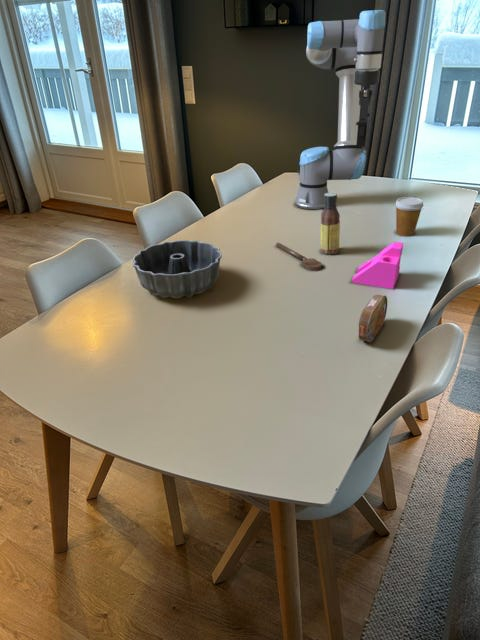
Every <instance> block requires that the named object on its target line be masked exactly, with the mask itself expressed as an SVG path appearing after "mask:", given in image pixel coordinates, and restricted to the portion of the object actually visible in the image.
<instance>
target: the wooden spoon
mask: <svg viewBox="0 0 480 640" xmlns="http://www.w3.org/2000/svg"><path fill="white" fill-rule="evenodd" d="M275 247H276V248H278V249H280V250H282V251H283V252H285V253H286V254H289V255H290V256H292V257H294V258H296V259H298V260H299V261H300V262H301V267H302V268H305V269H306V270H308V271H319V270H321V269H322V266H323V265H322V262H321V261H319V260H318V259H315V258H307V257H306V256H304V255H302V254H301V253H299V252H296V251H295V250H293V249H291V248H289V247H288V246H286V245H285V244H282V243H280V242H276V243H275Z"/></svg>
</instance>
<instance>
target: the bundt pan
mask: <svg viewBox="0 0 480 640" xmlns="http://www.w3.org/2000/svg"><path fill="white" fill-rule="evenodd" d="M220 249H221V248H220V247H217V246H215V245H214V244H213V243H210V242H204V241H200V240H187V239H179V240H174V241H164V242H162V243H155V244H152V245H150V246H149V245H148V246H147V247H146V248H145V249H140V250H139V251H138V253H137V254H135V255H134V256H133V257H132V267H133V268H134V269H135V270H134V271H135V273H136V275H137V278H138V281H139V283H140V285H141V286H142V288H144V289H145V290H146V291H148V292H149V294H151V295H154V296H159V297H161V298H162V299H167V298H169V297H170V298H172V299H181V298H182V297H184V296H185V297H187V298H191V297H192V296H193V295H199V294H202V293H204V292H206V290H209V289H211V288H212V287H213V286H214V285H215V284H216V280H217V279H218V277H219V272H220V265H221V264H220V263H221V259H222V257H223V254H222V252H221V251H220Z"/></svg>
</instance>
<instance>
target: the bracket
mask: <svg viewBox="0 0 480 640" xmlns="http://www.w3.org/2000/svg"><path fill="white" fill-rule="evenodd" d="M403 247H404V242H402V241H393V242H392V243H390V244H388V246H386V247H385V248H383V249H382V250H381V251H380V253H377V255H375V256H374V257H373V258H371V259H370V260H368V261H365V262H363V263H362V264H361V265H359V267H358V268H357V270H356V271H357V272H356V274H354V276H353V277H352V279H351V283H353V284H357V285H358V284H359V285H366V286H371V287H378V288H384V289H393V290H394V288H395V285H396V283H397V281H398V278H399V275H400V270H401V266H400V265H401V259H402V255H403V249H404V248H403Z"/></svg>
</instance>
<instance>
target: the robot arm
mask: <svg viewBox="0 0 480 640" xmlns="http://www.w3.org/2000/svg"><path fill="white" fill-rule="evenodd" d="M386 17H387V16H386V11H385V10H383V9H374V10H363V11H361V12H360V13H359V18H354V19H341V20H322V21H321V20H317V21H311V22H309V23H308V25H307V34H306V36H307V37H306V39H307V40H306V41H307V42H306V43H307V44H306V49H305V55H306V59H307V60H308V62H309V63H310V64H311V65H312V66H314V67H316V68H319V69H323V70H335V76H337V78H338V81H339V83H338V84H339V85H338V113H337V115H338V117H337V141H336V143H335V144H334V145H333V150H330V149H329V146H315V147H311V148H310V147H309V148H306V149H305V150H303V151H302V152H301V154H300V155H299V156H300V157H299V167H298V168H297V170H296V171H297V173H298V174H299V187H298V190H297V193H296V196H295V199H294V206H295V207H297V208H299V209H303V210H324V208H325V207H324V206H325V199H324V194H326V193H329V190H328V181H351V180H359V179H360V178H361V177H362V176H363V173H364V170H365V166H366V160H367V150H366V149H363V148H365V147H366V140H367V139H366V138H367V128H368V118H370V112H369V106H371V99H372V96H373V90H372V89H370V88H371V86H375V85H379V83H380V75H381V71H380V69H381V68H382V60H383V59H382V58H383V47H384V46H383V45H384V38H385V37H384V36H385V27H386Z"/></svg>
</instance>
